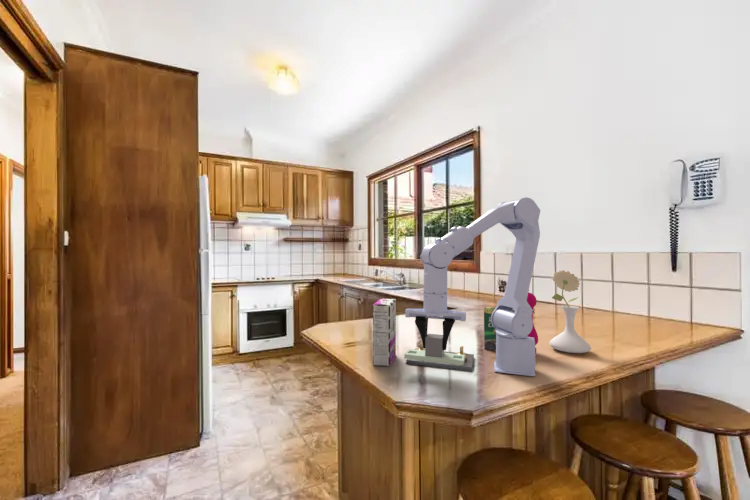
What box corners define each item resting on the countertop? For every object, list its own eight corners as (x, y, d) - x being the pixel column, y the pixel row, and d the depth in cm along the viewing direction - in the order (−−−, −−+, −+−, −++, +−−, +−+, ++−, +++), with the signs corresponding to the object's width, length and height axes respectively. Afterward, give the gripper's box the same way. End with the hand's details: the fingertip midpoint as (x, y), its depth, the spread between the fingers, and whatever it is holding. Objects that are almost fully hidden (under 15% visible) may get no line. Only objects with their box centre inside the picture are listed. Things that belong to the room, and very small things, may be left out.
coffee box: (482, 349, 110) (483, 307, 110) (484, 347, 113) (485, 306, 113) (510, 353, 106) (510, 309, 106) (511, 351, 109) (512, 308, 109)
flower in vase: (600, 355, 105) (601, 271, 106) (568, 357, 103) (569, 271, 103) (566, 343, 118) (567, 269, 118) (537, 345, 115) (538, 269, 115)
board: (464, 358, 86) (465, 336, 86) (463, 365, 82) (463, 341, 82) (408, 352, 91) (409, 331, 91) (404, 358, 86) (404, 335, 86)
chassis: (473, 357, 101) (474, 342, 101) (471, 371, 90) (471, 353, 90) (415, 351, 106) (415, 336, 106) (406, 363, 95) (406, 347, 95)
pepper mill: (543, 356, 104) (543, 288, 104) (519, 356, 103) (520, 288, 103) (530, 349, 111) (531, 285, 111) (508, 349, 110) (508, 285, 110)
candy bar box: (379, 353, 104) (380, 298, 104) (396, 354, 103) (396, 298, 103) (371, 365, 93) (372, 303, 93) (390, 367, 92) (390, 304, 92)
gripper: (402, 293, 85) (402, 349, 85) (464, 296, 80) (464, 356, 80) (409, 290, 91) (408, 342, 91) (466, 292, 87) (466, 347, 87)
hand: (434, 348), depth 86 cm, fingers closed on board, 4 cm apart
